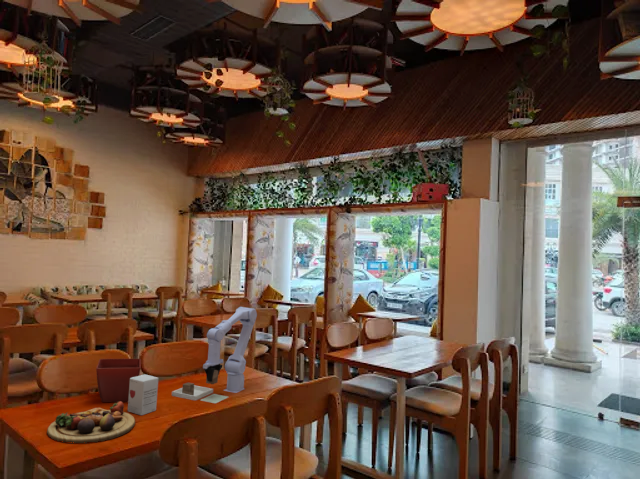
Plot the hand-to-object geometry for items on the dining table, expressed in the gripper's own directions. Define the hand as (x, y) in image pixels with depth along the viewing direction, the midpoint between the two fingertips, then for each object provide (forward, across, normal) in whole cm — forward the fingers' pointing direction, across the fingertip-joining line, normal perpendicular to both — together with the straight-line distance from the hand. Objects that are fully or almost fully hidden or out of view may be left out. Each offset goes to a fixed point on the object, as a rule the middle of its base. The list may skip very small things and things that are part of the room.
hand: (212, 380), depth 242 cm
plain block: (+8, +5, -10) cm, 14 cm away
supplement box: (+9, +31, -15) cm, 36 cm away
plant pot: (+9, +24, -37) cm, 45 cm away
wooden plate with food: (+10, +57, -17) cm, 60 cm away
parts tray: (+9, +1, -10) cm, 14 cm away
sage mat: (+9, +1, +2) cm, 9 cm away
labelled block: (+1, 0, 0) cm, 1 cm away
